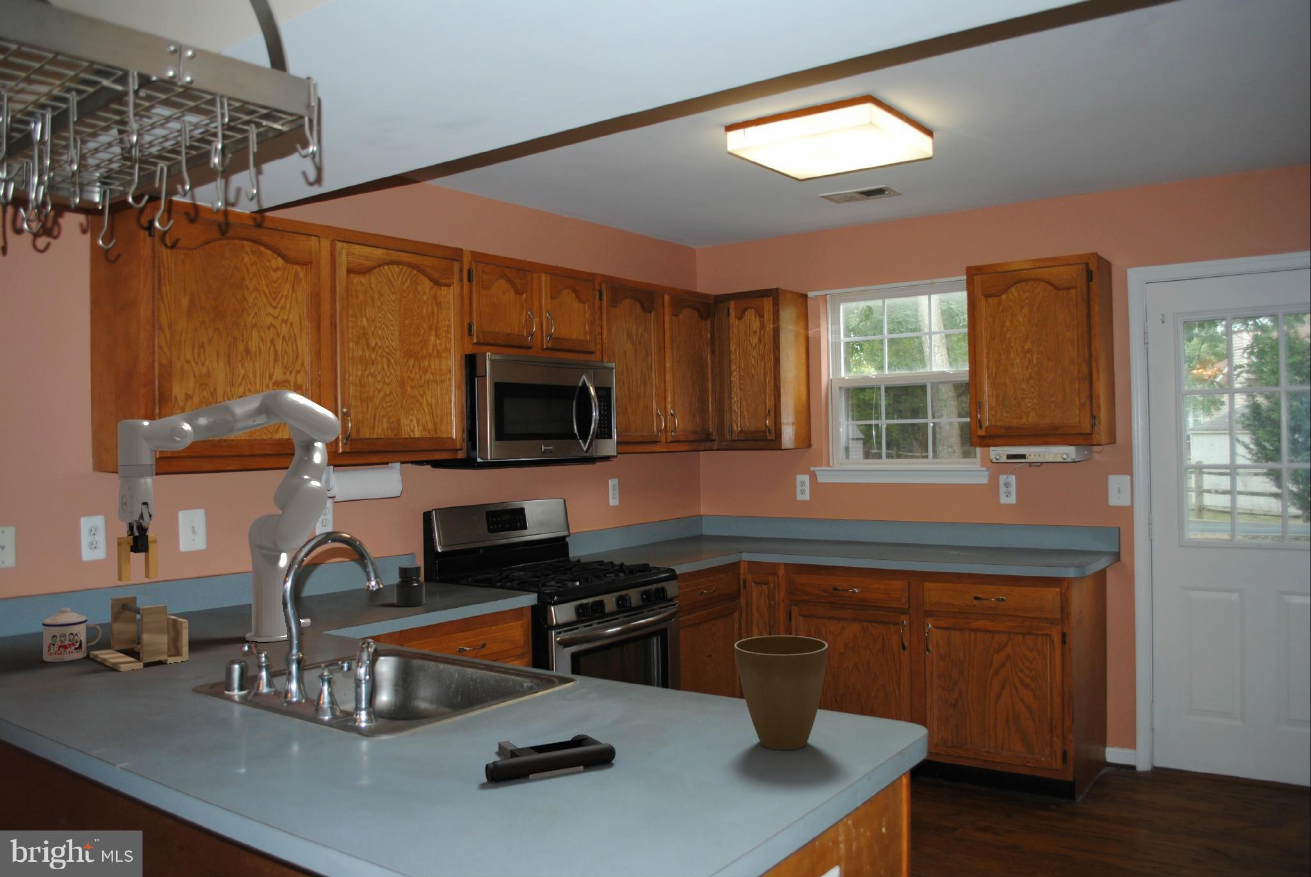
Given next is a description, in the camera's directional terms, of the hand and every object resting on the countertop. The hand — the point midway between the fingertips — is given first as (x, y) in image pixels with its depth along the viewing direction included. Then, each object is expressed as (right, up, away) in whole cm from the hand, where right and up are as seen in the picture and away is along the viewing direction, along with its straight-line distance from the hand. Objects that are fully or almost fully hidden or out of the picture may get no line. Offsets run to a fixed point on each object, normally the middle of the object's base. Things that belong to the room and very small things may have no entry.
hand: (137, 551), depth 222 cm
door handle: (+102, -24, -76) cm, 129 cm away
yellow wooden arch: (0, -6, 0) cm, 6 cm away
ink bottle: (+44, -26, +74) cm, 90 cm away
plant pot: (+140, -23, -68) cm, 158 cm away
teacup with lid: (-17, -25, +2) cm, 30 cm away
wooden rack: (0, -25, 0) cm, 25 cm away
